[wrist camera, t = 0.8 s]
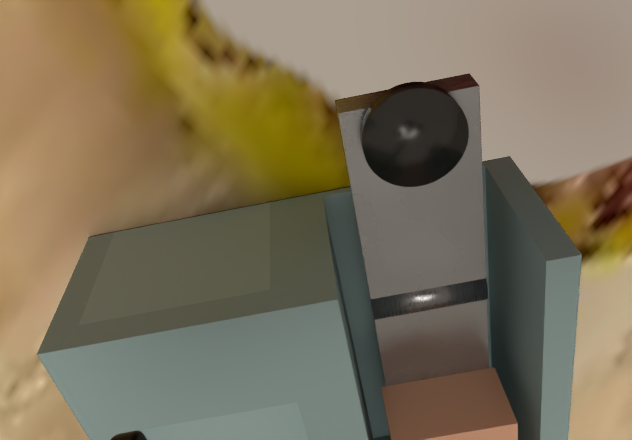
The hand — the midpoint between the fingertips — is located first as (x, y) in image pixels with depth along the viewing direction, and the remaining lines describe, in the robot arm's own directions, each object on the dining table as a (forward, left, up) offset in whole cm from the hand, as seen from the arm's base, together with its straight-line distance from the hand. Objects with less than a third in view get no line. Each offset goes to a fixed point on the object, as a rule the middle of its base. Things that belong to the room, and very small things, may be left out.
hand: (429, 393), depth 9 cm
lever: (-8, -2, -11) cm, 14 cm away
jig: (-13, +2, -13) cm, 19 cm away
